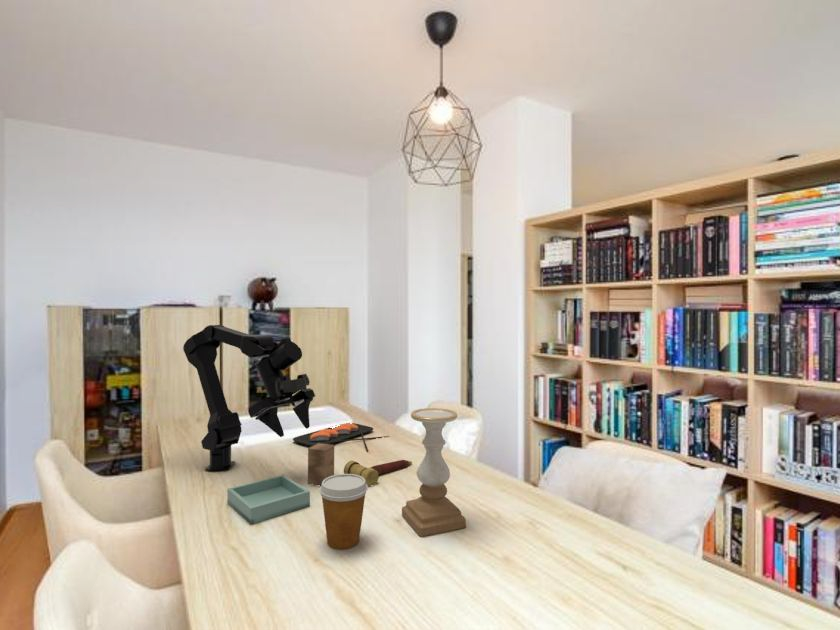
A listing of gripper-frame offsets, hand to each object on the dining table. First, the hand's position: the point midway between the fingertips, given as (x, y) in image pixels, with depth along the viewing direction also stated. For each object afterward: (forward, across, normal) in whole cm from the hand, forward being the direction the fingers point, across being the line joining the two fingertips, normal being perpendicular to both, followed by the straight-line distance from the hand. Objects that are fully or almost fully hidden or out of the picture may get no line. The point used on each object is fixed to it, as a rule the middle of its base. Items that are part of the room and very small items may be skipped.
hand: (295, 432), depth 118 cm
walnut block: (+14, +6, +4) cm, 16 cm away
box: (+13, -11, +6) cm, 18 cm away
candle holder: (+33, +1, -26) cm, 42 cm away
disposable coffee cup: (+27, -16, -16) cm, 35 cm away
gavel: (+20, +20, -4) cm, 29 cm away
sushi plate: (+6, +40, +19) cm, 45 cm away
